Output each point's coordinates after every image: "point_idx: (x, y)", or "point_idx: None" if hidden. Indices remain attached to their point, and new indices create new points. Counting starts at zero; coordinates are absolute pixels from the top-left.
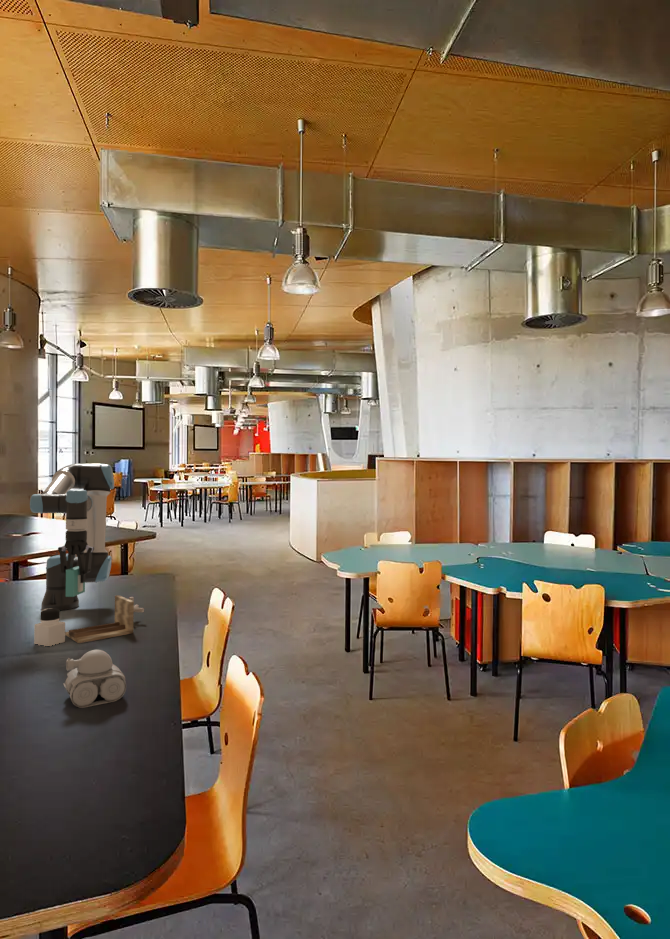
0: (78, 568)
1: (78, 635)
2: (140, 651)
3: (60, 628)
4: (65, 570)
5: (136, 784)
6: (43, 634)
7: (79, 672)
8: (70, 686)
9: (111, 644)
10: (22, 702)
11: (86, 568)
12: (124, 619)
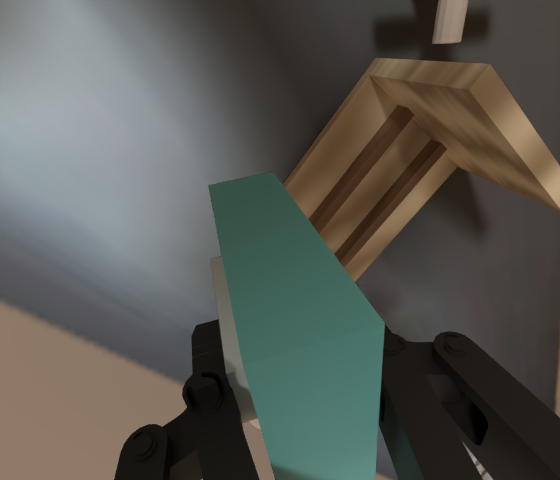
0: (374, 451)
1: None
2: (503, 283)
3: None
4: (197, 478)
5: None
6: None
7: (481, 476)
8: None
9: (427, 267)
10: (393, 466)
11: (475, 427)
12: (458, 150)
